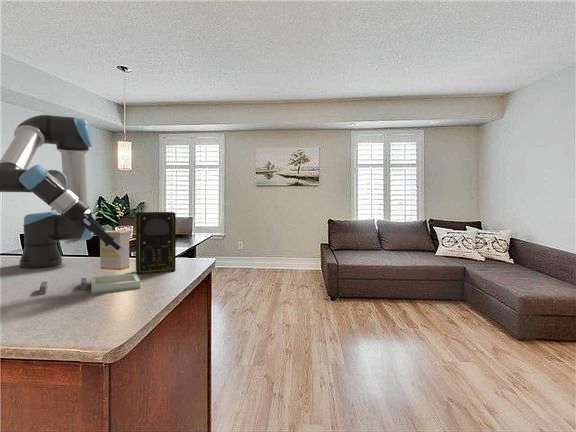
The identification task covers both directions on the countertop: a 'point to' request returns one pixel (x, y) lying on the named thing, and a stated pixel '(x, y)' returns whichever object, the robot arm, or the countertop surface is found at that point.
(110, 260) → the supplement box
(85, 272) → the countertop surface
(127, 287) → the tray
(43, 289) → the grey small blocks
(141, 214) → the voltmeter
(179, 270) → the countertop surface
